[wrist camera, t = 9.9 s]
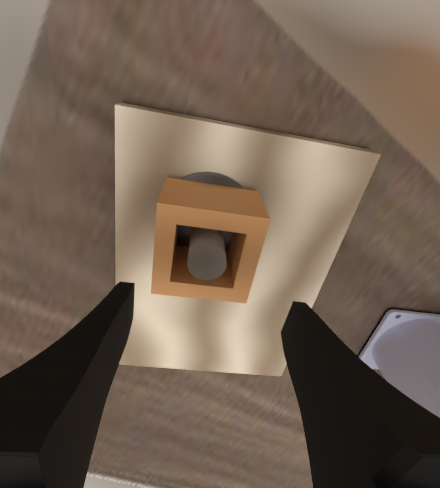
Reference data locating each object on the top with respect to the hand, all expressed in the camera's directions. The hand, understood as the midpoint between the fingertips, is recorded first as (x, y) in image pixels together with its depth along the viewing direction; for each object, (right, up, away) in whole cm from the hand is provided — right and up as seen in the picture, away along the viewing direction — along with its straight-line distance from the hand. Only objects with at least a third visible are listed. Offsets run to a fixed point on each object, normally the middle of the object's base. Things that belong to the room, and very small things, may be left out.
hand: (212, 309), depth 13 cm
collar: (-1, +4, +6) cm, 7 cm away
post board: (0, +1, +10) cm, 10 cm away
